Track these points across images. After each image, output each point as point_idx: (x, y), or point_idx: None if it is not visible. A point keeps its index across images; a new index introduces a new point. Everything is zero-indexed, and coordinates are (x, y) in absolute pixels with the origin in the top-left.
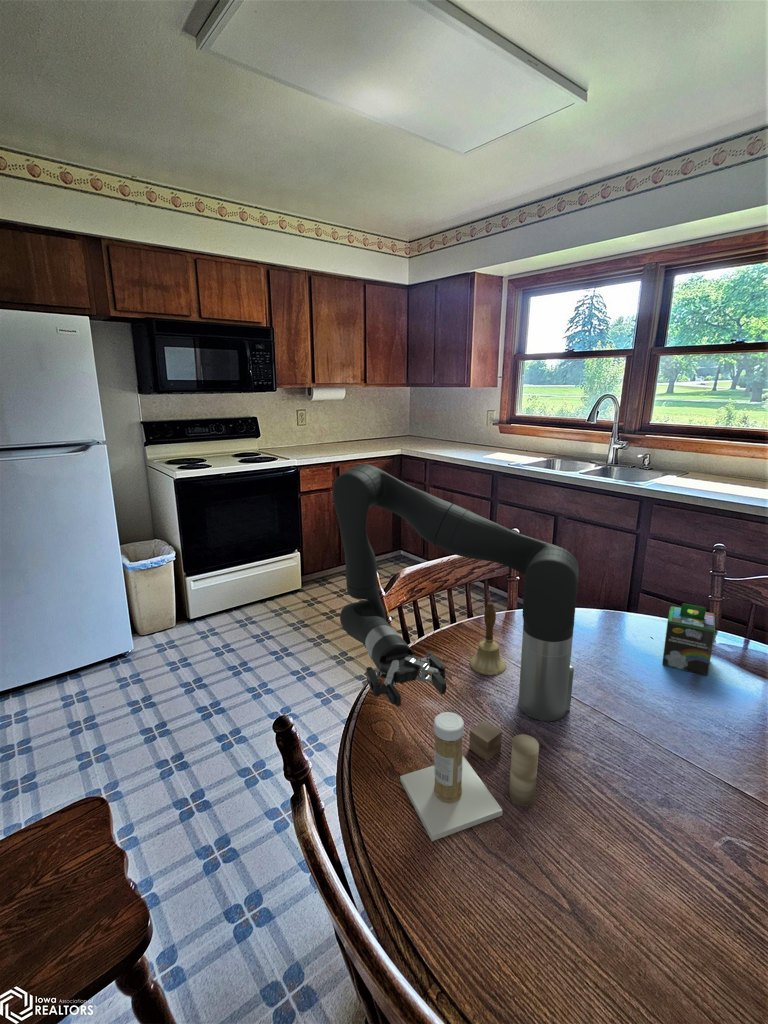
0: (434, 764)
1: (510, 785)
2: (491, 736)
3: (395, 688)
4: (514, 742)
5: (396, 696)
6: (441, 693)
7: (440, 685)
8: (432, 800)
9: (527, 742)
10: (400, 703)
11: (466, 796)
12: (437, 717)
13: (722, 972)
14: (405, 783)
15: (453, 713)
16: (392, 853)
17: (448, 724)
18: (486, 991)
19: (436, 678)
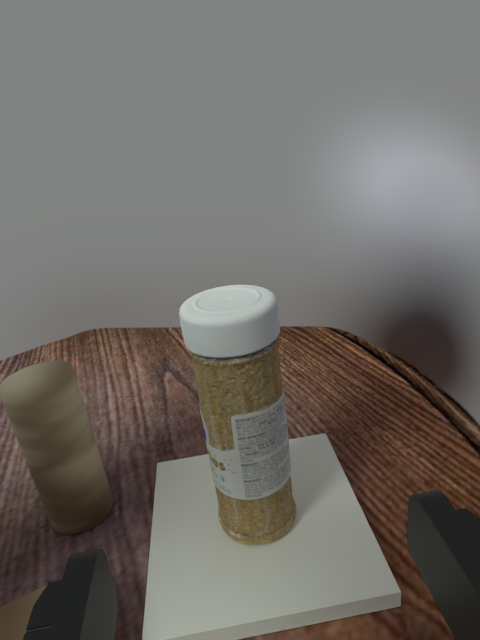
0: (288, 440)
1: (102, 484)
2: (7, 612)
3: (463, 567)
4: (58, 380)
5: (440, 494)
6: (116, 595)
7: (100, 572)
8: (306, 498)
9: (28, 380)
10: (410, 528)
11: (216, 498)
12: (258, 306)
13: (81, 341)
14: (381, 557)
15: (195, 314)
16: (409, 433)
17: (234, 293)
18: (298, 334)
19: (82, 627)
